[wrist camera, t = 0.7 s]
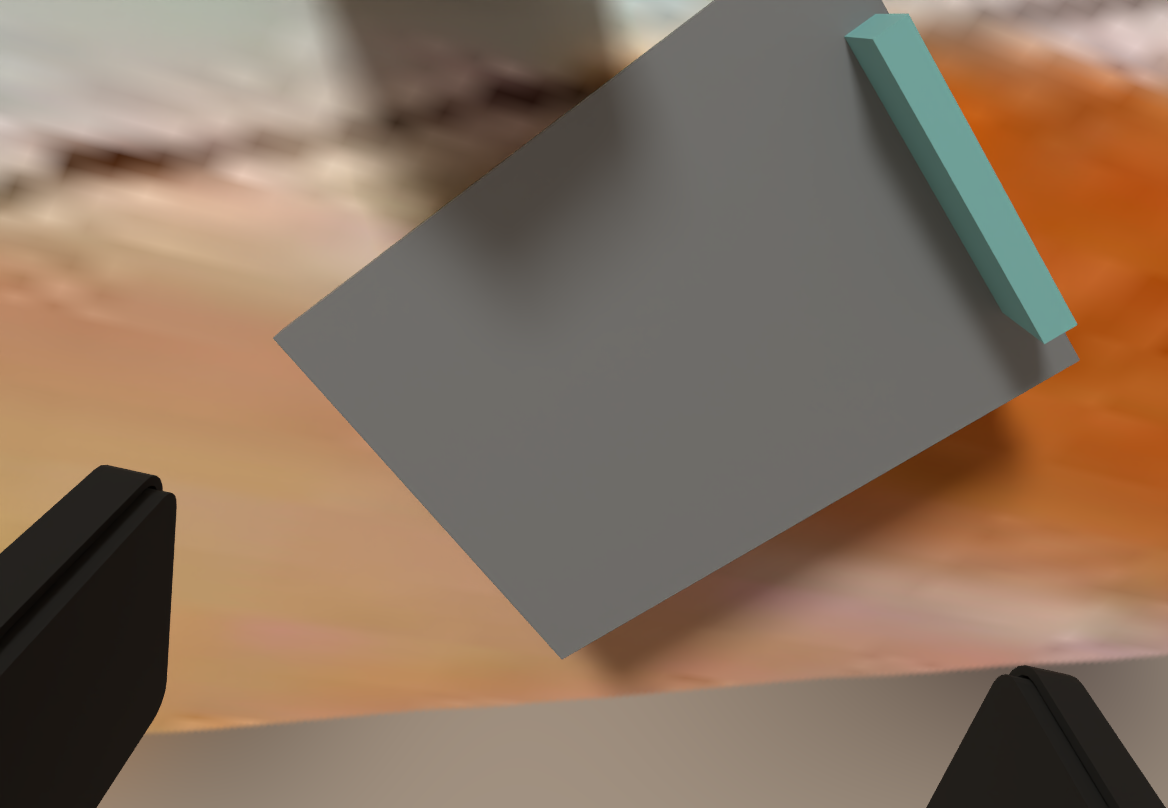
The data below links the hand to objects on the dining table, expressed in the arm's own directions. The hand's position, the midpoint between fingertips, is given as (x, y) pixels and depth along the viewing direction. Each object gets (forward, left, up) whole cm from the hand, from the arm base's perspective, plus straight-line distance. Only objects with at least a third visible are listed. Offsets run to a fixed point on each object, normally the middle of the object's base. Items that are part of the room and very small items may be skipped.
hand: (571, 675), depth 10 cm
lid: (0, +4, -21) cm, 21 cm away
